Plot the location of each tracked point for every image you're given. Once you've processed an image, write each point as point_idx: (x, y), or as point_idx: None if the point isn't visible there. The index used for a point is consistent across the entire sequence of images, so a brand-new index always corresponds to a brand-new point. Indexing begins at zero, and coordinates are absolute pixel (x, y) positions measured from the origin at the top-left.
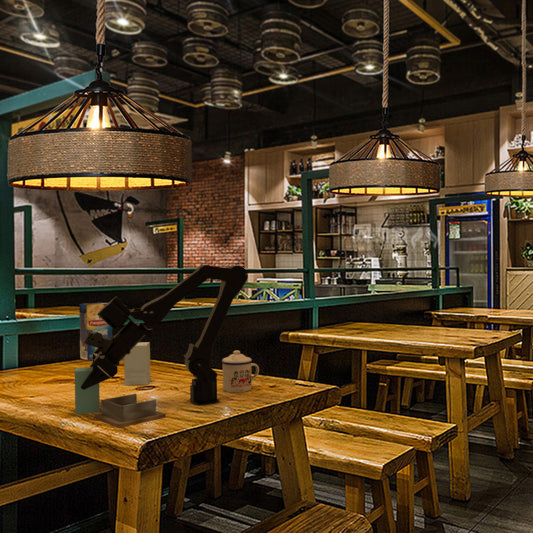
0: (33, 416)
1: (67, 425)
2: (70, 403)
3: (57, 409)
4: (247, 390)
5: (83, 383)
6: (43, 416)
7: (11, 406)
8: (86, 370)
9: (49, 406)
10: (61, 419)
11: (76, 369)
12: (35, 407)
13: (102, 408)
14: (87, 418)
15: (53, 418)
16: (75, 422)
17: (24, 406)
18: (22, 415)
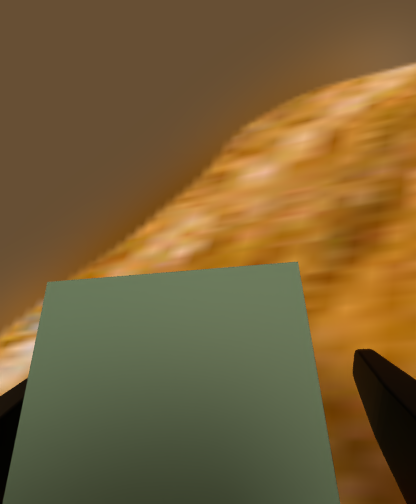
0: (200, 186)
1: (28, 317)
2: (410, 290)
3: (291, 248)
4: None
5: (13, 389)
6: (189, 217)
7: (370, 92)
8: (35, 452)
9: (353, 209)
10: None
11: (180, 290)
12: (342, 164)
13: None
14: None
15: (147, 255)
16: None
17: (365, 127)
18: (225, 152)
